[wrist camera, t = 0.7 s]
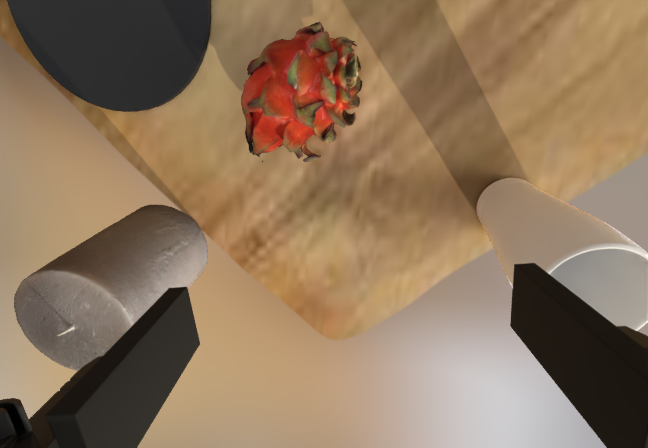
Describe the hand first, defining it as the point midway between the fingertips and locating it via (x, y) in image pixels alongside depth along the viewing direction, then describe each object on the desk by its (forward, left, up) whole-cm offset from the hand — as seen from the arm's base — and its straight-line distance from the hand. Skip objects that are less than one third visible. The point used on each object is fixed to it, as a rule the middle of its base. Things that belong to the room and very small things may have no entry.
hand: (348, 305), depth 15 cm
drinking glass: (-11, +7, -21) cm, 25 cm away
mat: (+16, -21, -21) cm, 33 cm away
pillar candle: (+23, +1, -21) cm, 31 cm away
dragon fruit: (+3, -8, -21) cm, 23 cm away
